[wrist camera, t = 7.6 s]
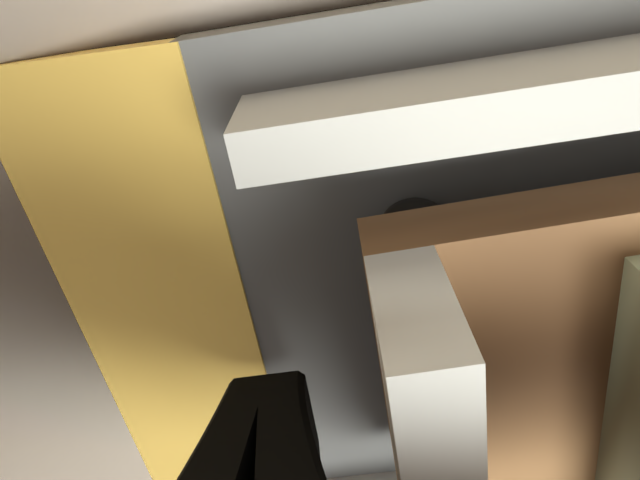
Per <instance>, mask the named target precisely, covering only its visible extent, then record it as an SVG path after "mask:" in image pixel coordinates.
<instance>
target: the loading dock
mask: <svg viewBox="0 0 640 480" xmlns="http://www.w3.org/2000/svg"><path fill="white" fill-rule="evenodd" d="M0 160H1V162H2V164H3V167H4V169H5V171H6V173H7V175H8V177H9V179H10V181H11V183H12V185H13V188H14V190H15V192H16V194H17V196H18V198H19V200H20V202H21V204H22V206H23V209H24V211H25V213H26V215H27V217H28V219H29V221H30V223H31V225H32V227H33V230H34V232H35V234H36V236H37V238H38V240H39V242H40V244H41V246H42V248H43V251H44V253H45V255H46V257H47V259H48V261H49V263H50V265H51V267H52V269H53V272H54V274H55V276H56V278H57V280H58V282H59V284H60V286H61V288H62V290H63V293H64V295H65V297H66V299H67V301H68V303H69V305H70V307H71V309H72V311H73V314H74V316H75V318H76V320H77V322H78V324H79V326H80V328H81V330H82V332H83V335H84V337H85V339H86V341H87V343H88V345H89V347H90V349H91V351H92V353H93V356H94V358H95V360H96V362H97V364H98V366H99V368H100V370H101V372H102V374H103V377H104V379H105V381H106V383H107V385H108V387H109V389H110V391H111V393H112V395H113V398H114V400H115V402H116V404H117V406H118V408H119V410H120V412H121V414H122V416H123V419H124V421H125V423H126V425H127V427H128V429H129V431H130V433H131V435H132V437H133V440H134V442H135V444H136V446H137V448H138V450H139V452H140V454H141V456H142V458H143V461H144V463H145V465H146V467H147V469H148V471H149V473H150V475H151V477H152V479H153V480H177V478H178V476H179V475H180V473H181V471H182V470H183V468H184V466H185V464H186V463H187V461H188V459H189V458H190V456H191V454H192V452H193V451H194V449H195V447H196V446H197V444H198V442H199V440H200V438H201V437H202V435H203V433H204V431H205V429H206V427H207V426H208V424H209V422H210V420H211V418H212V416H213V414H214V413H215V411H216V409H217V407H218V405H219V403H220V401H221V399H222V397H223V395H224V393H225V391H226V389H227V387H228V385H229V383H230V382H231V381H232V380H233V379H234V378H240V377H249V376H257V375H265V374H273V373H281V372H290V371H300V372H301V373H303V374H305V377H306V382H307V387H308V391H309V396H310V401H311V406H312V410H313V415H314V420H315V425H316V429H317V434H318V439H319V448H320V459H321V463H322V466H323V469H324V472H325V475H326V478H327V480H397V475H396V468H395V462H394V455H393V449H392V442H391V436H390V430H389V423H388V417H387V410H386V404H385V397H384V391H383V385H382V378H381V372H380V365H379V359H378V352H377V346H376V340H375V333H374V327H373V320H372V314H371V307H370V301H369V295H368V288H367V282H366V275H365V269H364V262H363V256H362V250H361V243H360V237H359V230H358V224H357V218H363V217H369V216H375V215H381V214H384V212H385V211H386V210H387V209H388V208H389V207H390V206H391V205H393V204H394V203H396V202H398V201H400V200H403V199H407V198H413V197H419V198H424V199H428V200H431V201H433V202H435V203H437V204H438V205H442V204H448V203H455V202H461V201H467V200H473V199H479V198H485V197H491V196H497V195H503V194H510V193H516V192H522V191H528V190H534V189H540V188H546V187H552V186H558V185H565V184H571V183H577V182H583V181H589V180H595V179H601V178H607V177H613V176H620V175H626V174H632V173H638V172H640V0H390V1H384V2H378V3H372V4H366V5H360V6H354V7H348V8H341V9H335V10H329V11H323V12H317V13H311V14H305V15H299V16H293V17H287V18H280V19H274V20H268V21H262V22H256V23H250V24H244V25H238V26H232V27H226V28H220V29H213V30H207V31H201V32H195V33H189V34H183V35H180V36H179V37H177V38H171V39H164V40H156V41H149V42H142V43H134V44H127V45H120V46H112V47H105V48H98V49H90V50H84V51H78V52H72V53H66V54H60V55H53V56H47V57H41V58H35V59H29V60H23V61H17V62H11V63H5V64H0Z"/></svg>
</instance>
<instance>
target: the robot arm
mask: <svg viewBox="0 0 640 480" xmlns="http://www.w3.org/2000/svg"><path fill="white" fill-rule="evenodd" d="M177 480H327V478H326V475H325V472H324V469H323V466H322V463H321V459H320V448H319V439H318V434H317V429H316V425H315V420H314V415H313V410H312V406H311V401H310V396H309V391H308V387H307V382H306V377H305V374H303V373H301V372H300V371H290V372H281V373H273V374H265V375H257V376H249V377H240V378H234V379H233V380H232V381H231V382H230V383H229V385H228V387H227V389H226V391H225V393H224V395H223V397H222V399H221V401H220V403H219V405H218V407H217V409H216V411H215V413H214V414H213V416H212V418H211V420H210V422H209V424H208V426H207V427H206V429H205V431H204V433H203V435H202V437H201V438H200V440H199V442H198V444H197V446H196V447H195V449H194V451H193V452H192V454H191V456H190V458H189V459H188V461H187V463H186V464H185V466H184V468H183V470H182V471H181V473H180V475H179V476H178V478H177Z"/></svg>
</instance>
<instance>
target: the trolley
mask: <svg viewBox="0 0 640 480" xmlns="http://www.w3.org/2000/svg"><path fill="white" fill-rule="evenodd" d="M357 224H358V230H359V237H360V243H361V250H362V256H363V262H364V269H365V275H366V282H367V288H368V295H369V301H370V307H371V314H372V320H373V327H374V333H375V340H376V346H377V352H378V359H379V365H380V372H381V378H382V385H383V391H384V397H385V404H386V410H387V417H388V423H389V430H390V436H391V442H392V449H393V455H394V462H395V468H396V475H397V480H640V172H638V173H632V174H626V175H620V176H613V177H607V178H601V179H595V180H589V181H583V182H577V183H571V184H565V185H558V186H552V187H546V188H540V189H534V190H528V191H522V192H516V193H510V194H503V195H497V196H491V197H485V198H479V199H473V200H467V201H461V202H455V203H448V204H442V205H438V204H437V203H435V202H433V201H431V200H428V199H424V198H419V197H413V198H407V199H403V200H400V201H398V202H396V203H394V204H393V205H391V206H390V207H389V208H388V209H387V210H386V211H385V212H384V214H381V215H375V216H369V217H363V218H357Z"/></svg>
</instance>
